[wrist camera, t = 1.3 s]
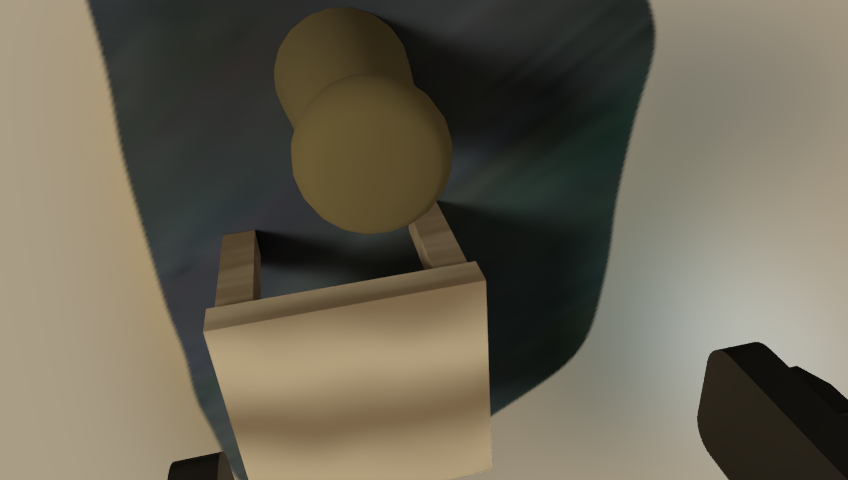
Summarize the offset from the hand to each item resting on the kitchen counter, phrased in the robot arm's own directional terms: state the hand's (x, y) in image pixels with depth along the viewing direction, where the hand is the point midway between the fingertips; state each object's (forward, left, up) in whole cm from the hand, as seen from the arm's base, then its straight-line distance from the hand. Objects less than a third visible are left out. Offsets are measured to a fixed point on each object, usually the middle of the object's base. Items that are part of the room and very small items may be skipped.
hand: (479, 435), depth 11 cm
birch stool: (+12, -2, -22) cm, 25 cm away
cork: (0, 0, -22) cm, 22 cm away
